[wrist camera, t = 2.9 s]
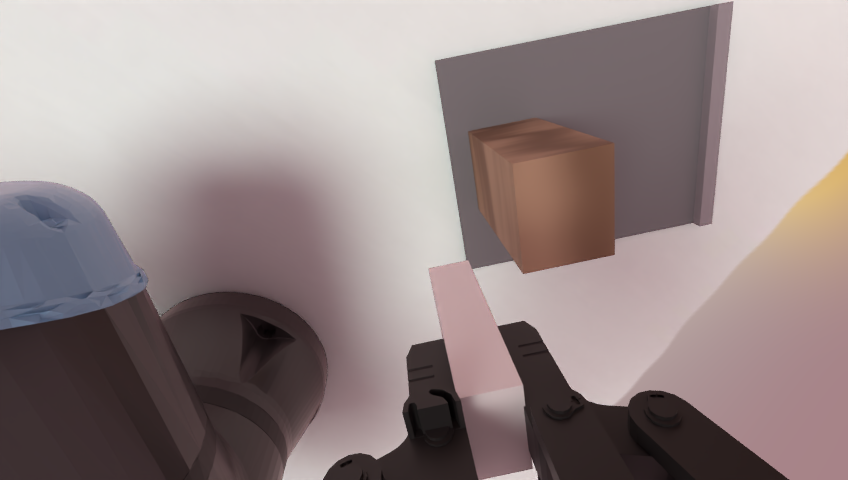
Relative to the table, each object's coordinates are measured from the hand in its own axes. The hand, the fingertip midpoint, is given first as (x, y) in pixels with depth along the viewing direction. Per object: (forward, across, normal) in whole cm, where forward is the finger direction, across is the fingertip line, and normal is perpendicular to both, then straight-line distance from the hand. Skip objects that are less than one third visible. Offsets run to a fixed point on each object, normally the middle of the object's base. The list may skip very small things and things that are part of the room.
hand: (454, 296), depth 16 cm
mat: (+17, +13, 0) cm, 21 cm away
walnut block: (+17, +7, 0) cm, 18 cm away
